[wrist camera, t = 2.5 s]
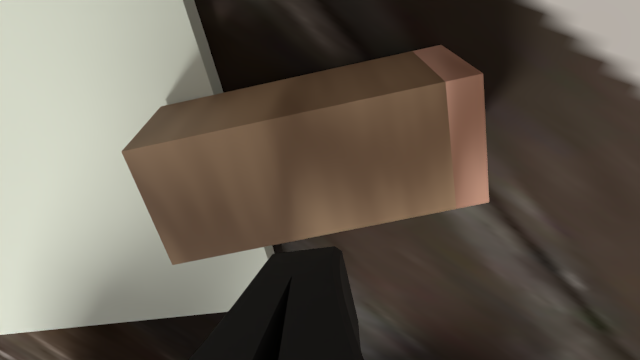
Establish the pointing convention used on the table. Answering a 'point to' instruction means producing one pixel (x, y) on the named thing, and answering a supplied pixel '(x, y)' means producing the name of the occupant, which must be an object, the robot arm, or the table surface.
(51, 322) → the board
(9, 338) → the table surface
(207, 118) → the walnut block
